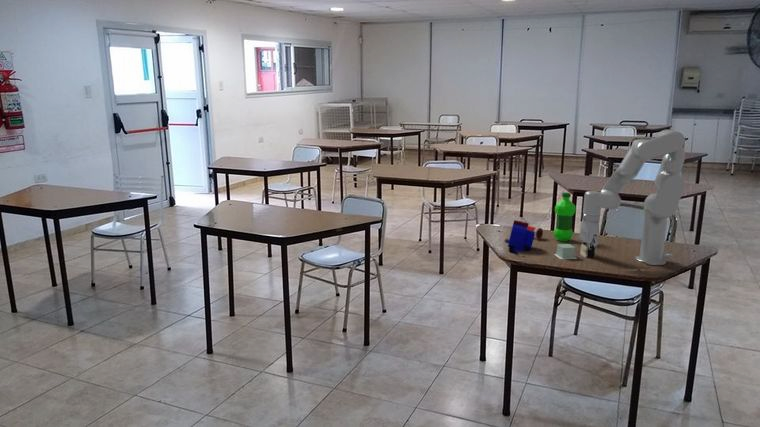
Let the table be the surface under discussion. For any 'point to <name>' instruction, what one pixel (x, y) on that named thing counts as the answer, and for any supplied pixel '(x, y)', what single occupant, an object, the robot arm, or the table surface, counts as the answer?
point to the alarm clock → (520, 237)
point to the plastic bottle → (564, 218)
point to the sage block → (565, 251)
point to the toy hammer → (537, 231)
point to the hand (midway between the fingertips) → (587, 255)
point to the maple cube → (585, 250)
